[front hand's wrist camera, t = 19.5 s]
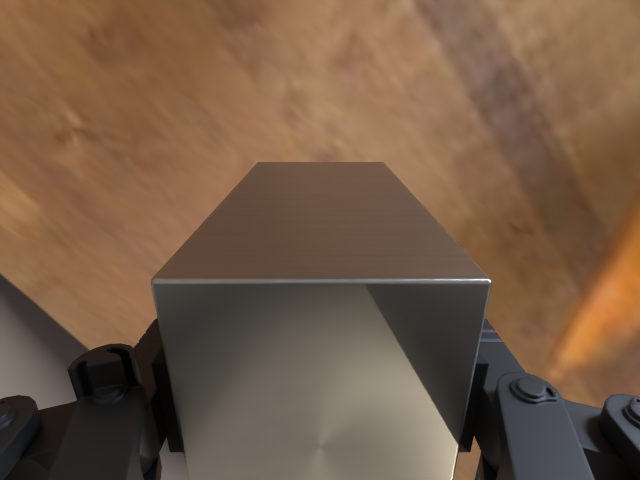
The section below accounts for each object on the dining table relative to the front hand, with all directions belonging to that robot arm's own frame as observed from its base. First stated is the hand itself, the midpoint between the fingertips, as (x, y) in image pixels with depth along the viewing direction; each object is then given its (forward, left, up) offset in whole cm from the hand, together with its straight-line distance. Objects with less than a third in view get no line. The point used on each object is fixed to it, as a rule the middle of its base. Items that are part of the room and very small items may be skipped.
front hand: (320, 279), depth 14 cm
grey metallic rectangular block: (0, 0, -4) cm, 4 cm away
